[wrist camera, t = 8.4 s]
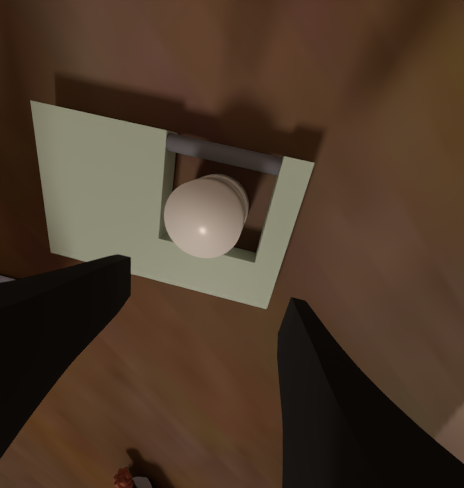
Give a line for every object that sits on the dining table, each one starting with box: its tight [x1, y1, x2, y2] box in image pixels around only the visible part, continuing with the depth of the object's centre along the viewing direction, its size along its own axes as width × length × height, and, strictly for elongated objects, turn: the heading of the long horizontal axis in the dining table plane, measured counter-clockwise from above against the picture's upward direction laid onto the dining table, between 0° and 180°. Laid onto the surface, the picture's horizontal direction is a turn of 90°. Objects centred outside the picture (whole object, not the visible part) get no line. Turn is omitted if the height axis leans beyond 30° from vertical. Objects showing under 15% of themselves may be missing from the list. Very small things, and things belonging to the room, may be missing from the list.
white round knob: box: [164, 173, 249, 258], centre depth 16 cm, size 5×5×5 cm
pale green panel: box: [30, 100, 314, 309], centre depth 18 cm, size 20×12×2 cm, turn 78°
